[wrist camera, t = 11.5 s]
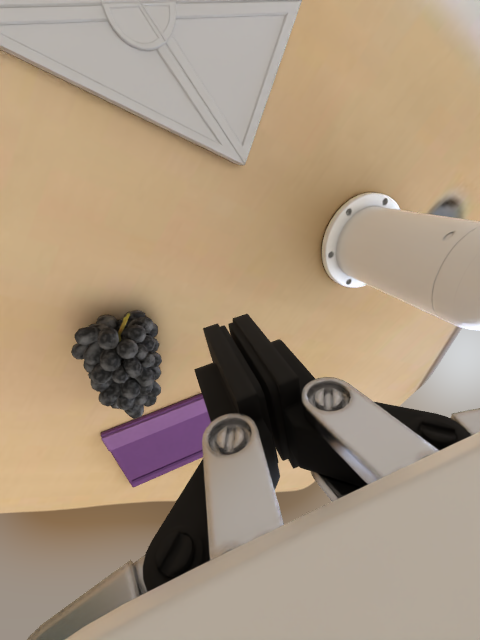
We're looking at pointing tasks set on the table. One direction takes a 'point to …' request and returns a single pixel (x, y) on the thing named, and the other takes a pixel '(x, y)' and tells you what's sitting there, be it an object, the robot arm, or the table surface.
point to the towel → (159, 440)
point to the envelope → (162, 58)
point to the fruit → (121, 360)
